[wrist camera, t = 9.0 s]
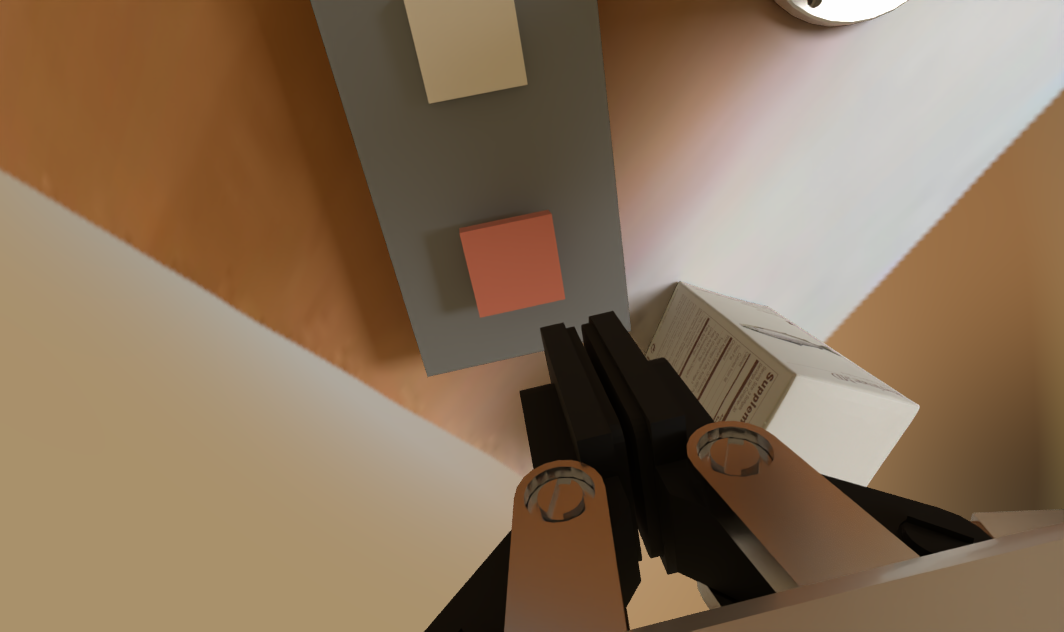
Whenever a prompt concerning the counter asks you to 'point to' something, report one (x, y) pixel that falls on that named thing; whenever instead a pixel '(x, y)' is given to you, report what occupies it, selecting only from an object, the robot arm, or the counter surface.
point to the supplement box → (781, 382)
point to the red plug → (513, 263)
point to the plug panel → (483, 170)
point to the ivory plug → (466, 46)
